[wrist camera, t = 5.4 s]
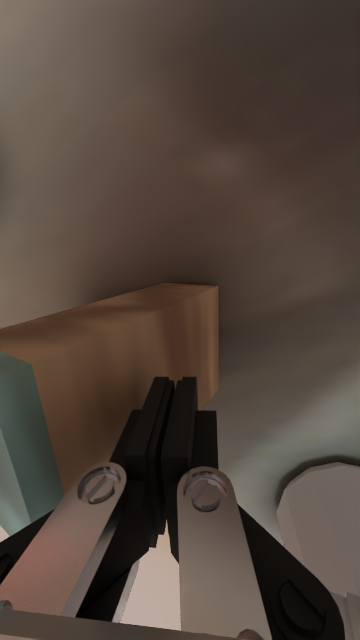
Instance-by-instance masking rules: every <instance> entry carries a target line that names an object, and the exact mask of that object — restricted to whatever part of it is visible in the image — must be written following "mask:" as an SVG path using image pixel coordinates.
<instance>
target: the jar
mask: <svg viewBox="0 0 360 640" xmlns="http://www.w3.org/2000/svg"><path fill="white" fill-rule="evenodd" d="M276 514H277V519H278V523H279V527H280V532H281V536H282V540H283V545H284V548H285V549H287V550H288V551H289V552H290V553H291V554H292V555H293V556H294V557H295V558H296V559H297V560H298V561H300V562H301V563H302V564H303V565H304V566H305V567H306V568H307V569H308V570H309V571H310V572H311V573H312V574H314V575H315V576H316V577H317V578H318V579H319V580H320V581H321V583H322V584H323V585H324V586H325V587H326V588H327V589H328V591H331V592H333V593H336V594H339V595H342V596H344V597H345V592H349V593H352V594H355V595H357V596H360V466H355V465H350V464H345V463H339V462H334V463H329V464H324V465H319V466H314V467H310V468H308V469H306V470H305V471H304V472H302V473H301V474H300V475H298V476H297V477H296V478H294V479H293V480H291V481H290V482H289V484H288V485H287V487H286V488H285V490H284V492H283V495H282V498H281V500H280V503H279V506H278V509H277V512H276Z"/></svg>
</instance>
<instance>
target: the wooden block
mask: <svg viewBox="0 0 360 640" xmlns="http://www.w3.org/2000/svg"><path fill="white" fill-rule="evenodd" d="M155 377H169V380H174V385H175V389H176V385H177V381H178V380H182V378H183V377H197V392H198V410H200V411H201V410H202V409H203V407H204V406H205V405H206V404H207V403H208V402H209V400H210V399H211V398H212V397H213V396H214V395H215V393H216V392H217V391H218V390H219V315H218V286H211V285H194V284H177V283H161V284H157V285H154V286H150V287H147V288H143V289H140V290H136V291H133V292H129V293H126V294H122V295H119V296H115V297H112V298H108V299H104V300H101V301H97V302H94V303H90V304H87V305H83V306H80V307H76V308H73V309H69V310H66V311H62V312H59V313H55V314H52V315H48V316H44V317H41V318H37V319H34V320H30V321H27V322H23V323H20V324H16V325H13V326H9V327H6V328H2V329H0V525H1V526H2V527H3V529H4V530H5V531H6V532H7V533H8V534H9V536H12V535H13V534H15V533H16V532H18V531H20V530H21V529H23V528H24V527H26V526H28V525H29V524H31V523H33V522H34V521H36V520H37V519H39V518H41V517H42V516H44V515H45V514H47V513H49V512H50V511H52V510H53V509H55V508H56V507H57V506H58V504H59V503H60V501H61V500H62V499H63V497H64V496H65V494H66V493H67V492H68V490H69V489H70V488H71V486H72V485H73V483H74V482H75V481H76V479H77V478H78V477H79V476H80V475H81V474H82V473H83V472H84V471H85V470H87V469H88V468H90V467H92V466H94V465H96V464H99V463H104V462H109V460H110V458H111V456H112V454H113V451H114V449H115V447H116V445H117V442H118V440H119V438H120V436H121V434H122V431H123V429H124V427H125V425H126V423H127V420H128V418H129V416H130V414H131V412H132V410H134V409H140V410H142V407H143V405H144V402H145V400H146V397H147V395H148V392H149V390H150V387H151V385H152V382H153V380H154V378H155Z"/></svg>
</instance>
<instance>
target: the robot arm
mask: <svg viewBox="0 0 360 640" xmlns="http://www.w3.org/2000/svg"><path fill="white" fill-rule="evenodd" d="M166 520H167V524H168V533H169V537H170V547H171V553H172V555H173V556H174V558H175V559H176V561H177V562H178V563H179V574H180V575H179V576H180V607H181V608H180V610H181V631H178V630H170V629H163V628H155V627H147V626H139V625H131V624H122V623H120V621H121V618H122V615H123V612H124V609H125V606H126V603H127V600H128V598H129V594H130V592H131V588H132V586H133V583H134V580H135V577H136V574H137V571H138V566H139V559H140V558H141V557H142V556H143V555H144V554H145V553H147V552H148V551H149V547H153V548H156V544H157V539H158V534H160V535H163V534H164V532H165V527H166ZM0 640H360V596H357V595H355V594H352V593H349V592H345V597H344V596H342V595H339V594H336V593H333V592H331V591H328V589H327V588H326V587H325V586H324V585H323V584H322V583H321V581H320V580H319V579H318V578H317V577H316V576H315V575H314V574H312V573H311V572H310V571H309V570H308V569H307V568H306V567H305V566H304V565H303V564H302V563H301V562H300V561H298V560H297V559H296V558H295V557H294V556H293V555H292V554H291V553H290V552H289V551H288V550H287V549H285V548H284V547H283V546H282V545H281V544H280V543H279V542H278V541H277V540H276V539H275V538H274V537H273V536H271V535H270V534H269V533H268V532H267V531H266V530H265V529H264V528H263V527H262V526H261V525H260V524H259V523H257V522H256V521H255V520H254V519H253V518H252V517H251V516H250V515H249V514H248V513H247V512H246V511H245V510H243V509H242V508H241V507H240V506H239V505H238V504H237V501H236V497H235V493H234V489H233V486H232V484H231V482H230V480H229V479H228V477H227V476H226V475H225V474H224V473H222V472H221V471H219V470H218V446H217V419H216V411H200V410H198V392H197V377H183V378H182V380H178V381H177V385H176V389H175V385H174V380H169V377H155V378H154V380H153V382H152V385H151V387H150V390H149V392H148V395H147V397H146V400H145V402H144V405H143V407H142V410H140V409H134V410H132V412H131V414H130V416H129V418H128V420H127V423H126V425H125V427H124V429H123V431H122V434H121V436H120V438H119V440H118V442H117V445H116V447H115V449H114V451H113V454H112V456H111V458H110V460H109V462H104V463H99V464H96V465H94V466H92V467H90V468H88V469H87V470H85V471H84V472H83V473H82V474H81V475H80V476H79V477H78V478H77V479H76V481H75V482H74V483H73V485H72V486H71V488H70V489H69V490H68V492H67V493H66V494H65V496H64V497H63V499H62V500H61V501H60V503H59V504H58V506H57V507H56V508H55V509H53V510H52V511H50V512H49V513H47V514H45V515H44V516H42V517H41V518H39V519H37V520H36V521H34V522H33V523H31V524H29V525H28V526H26V527H24V528H23V529H21V530H20V531H18V532H16V533H15V534H13V535H12V536H10V537H8V538H7V539H5V540H4V541H2V542H0Z"/></svg>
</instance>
